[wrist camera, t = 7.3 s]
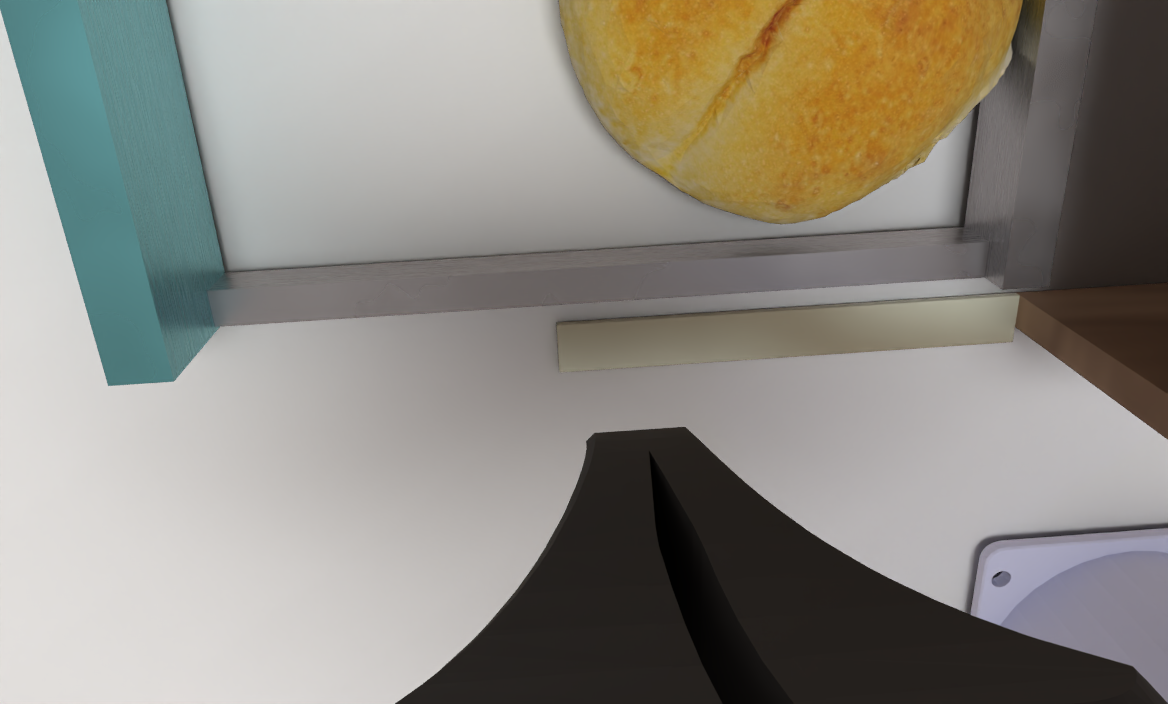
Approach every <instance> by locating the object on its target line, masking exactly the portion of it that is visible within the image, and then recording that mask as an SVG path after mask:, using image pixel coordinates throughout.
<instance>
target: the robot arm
mask: <svg viewBox="0 0 1168 704" xmlns="http://www.w3.org/2000/svg"><path fill="white" fill-rule="evenodd" d="M586 443H587V450H586V456H585V461H584V464H583V468H582V471H581V474H580V477H579V480H578V483H577V485H576V487H575V490H574V492H573V494H572V497H571V499H570V501H569V504H568V506H567V508H566V510H565V513H564V515H563V517H562V519H561V520H560V522H559V524H558V526H557V528H556V529H555V531H554V533H553V535H552V537H551V538H550V540H549V542H548V544H547V546H546V548H545V549H544V551H543V552H542V554H541V556H540V557H539V559H538V560H537V562H536V563H535V565H534V566H533V568H532V569H531V571H530V572H529V574H528V575H527V576H526V578H525V579H524V581H523V582H522V583H521V585H520V586H519V587H518V589H517V590H516V591H515V593H514V594H513V595H512V596H511V598H510V599H509V600H508V601H507V602H506V604H505V605H504V606H503V607H502V608H501V609H500V611H499V612H498V613H497V614H496V615H495V617H494V618H493V619H492V620H491V621H490V622H489V624H488V625H487V626H486V627H485V628H484V629H483V630H482V631H481V632H480V633H479V634H478V635H477V636H476V637H475V638H474V639H473V640H472V641H471V642H470V643H469V644H468V645H467V646H466V647H465V648H464V649H463V650H462V651H460V652H459V653H458V654H457V655H456V656H455V657H454V658H453V659H452V660H451V661H450V662H448V663H447V664H446V665H445V666H444V667H443V668H442V669H441V670H440V671H439V672H437V673H436V674H435V675H434V676H432V677H431V678H430V679H429V680H427V681H426V682H425V683H424V684H422V685H421V686H420V687H418V688H417V689H415V690H414V691H412V692H411V693H410V694H408V695H407V696H405V697H404V698H402V699H401V700H400V701H398V702H397V703H395V704H1168V528H1161V529H1147V530H1134V531H1121V532H1108V533H1094V534H1081V535H1068V536H1055V537H1042V538H1028V539H1015V540H1002V541H997V542H993V543H991V544H989V545H988V546H986V547H985V548H984V549H983V551H982V552H981V555H980V557H979V563H978V569H977V576H976V582H975V588H974V594H973V601H972V607H971V613H970V614H967V613H965V612H962V611H960V610H958V609H955V608H953V607H950V606H948V605H945V604H943V603H941V602H938V601H936V600H934V599H932V598H929V597H927V596H925V595H923V594H921V593H919V592H917V591H915V590H912V589H910V588H908V587H906V586H904V585H902V584H900V583H898V582H895V581H893V580H891V579H889V578H887V577H885V576H884V575H882V574H880V573H878V572H876V571H874V570H872V569H870V568H868V567H866V566H865V565H863V564H861V563H860V562H858V561H856V560H854V559H853V558H851V557H849V556H848V555H846V554H844V553H843V552H841V551H839V550H837V549H836V548H834V547H832V546H831V545H829V544H827V543H826V542H824V541H823V540H821V539H820V538H818V537H817V536H815V535H813V534H812V533H810V532H809V531H807V530H806V529H805V528H803V527H802V526H801V525H799V524H798V523H796V522H795V521H794V520H792V519H791V518H789V517H788V516H787V515H785V514H784V513H783V512H781V511H780V510H778V509H777V508H776V507H775V506H773V505H772V504H771V503H769V502H768V501H767V500H766V499H764V498H763V497H762V496H761V495H759V494H758V493H757V492H756V491H755V490H753V489H752V488H751V487H750V486H749V485H747V484H746V483H745V482H744V481H743V480H742V479H741V478H739V477H738V476H737V475H736V474H735V473H734V472H733V471H732V470H731V469H729V468H728V467H727V466H726V465H725V464H724V463H723V462H722V461H721V460H720V459H719V458H718V457H717V456H715V455H714V454H713V453H712V452H711V451H710V450H709V449H708V448H707V447H706V446H705V445H704V444H703V443H702V442H701V441H700V440H699V439H698V438H697V437H695V436H694V435H693V434H692V433H691V432H690V431H689V430H688V429H687V428H686V427H677V428H662V429H648V430H633V431H618V432H603V433H594V434H593V435H592V436H591V437H590V438H589V439H588V440H587V441H586ZM1001 571H1003V572H1002V574H1000V575H999V576H998V577H995V578H993V576H994V575H995V574H996V573H998V572H1001Z"/></svg>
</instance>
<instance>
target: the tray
mask: <svg viewBox="0 0 1168 704" xmlns="http://www.w3.org/2000/svg"><path fill="white" fill-rule="evenodd" d="M556 326H557V342H558V358H559V372H574V371H589V370H604V369H619V368H633V367H648V366H663V365H678V364H693V363H708V362H723V361H738V360H753V359H767V358H782V357H797V356H812V355H827V354H842V353H857V352H872V351H887V350H901V349H916V348H931V347H946V346H961V345H976V344H991V343H1006V342H1013V336H1014V329H1015V327H1016V328H1017V329H1019V330H1020V331H1021V332H1023V333H1024V334H1025V335H1027V336H1028V337H1030V338H1031V339H1032V340H1034V341H1035V342H1036V343H1038V344H1039V345H1040V346H1042V347H1043V348H1044V349H1046V350H1047V351H1048V352H1050V353H1051V354H1053V355H1054V356H1055V357H1057V358H1058V359H1059V360H1061V361H1062V362H1063V363H1065V364H1066V365H1067V366H1069V367H1070V368H1072V369H1073V370H1074V371H1076V372H1077V373H1078V374H1080V375H1081V376H1082V377H1084V378H1085V379H1086V380H1088V381H1089V382H1090V383H1092V384H1093V385H1095V386H1096V387H1097V388H1099V389H1100V390H1101V391H1103V392H1104V393H1105V394H1107V395H1108V396H1109V397H1111V398H1112V399H1114V400H1115V401H1116V402H1118V403H1119V404H1120V405H1122V406H1123V407H1124V408H1126V409H1127V410H1128V411H1130V412H1131V413H1132V414H1134V415H1135V416H1137V417H1138V418H1139V419H1141V420H1142V421H1143V422H1145V423H1146V424H1147V425H1149V426H1150V427H1151V428H1153V429H1154V430H1156V431H1157V432H1158V433H1160V434H1161V435H1162V436H1164V437H1165V438H1166V439H1168V283H1156V284H1140V285H1125V286H1110V287H1094V288H1079V289H1064V290H1048V291H1033V292H1017V293H1002V294H987V295H971V296H956V297H941V298H925V299H910V300H895V301H879V302H864V303H848V304H833V305H818V306H802V307H787V308H772V309H756V310H741V311H725V312H710V313H695V314H679V315H664V316H649V317H633V318H618V319H603V320H587V321H572V322H556Z"/></svg>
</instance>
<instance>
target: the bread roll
mask: <svg viewBox="0 0 1168 704" xmlns="http://www.w3.org/2000/svg"><path fill="white" fill-rule="evenodd" d="M1022 2H1023V0H559V3H558V4H559V7H560V18H561V26H562V28H563V31H564V34H565V39H566V43H567V47H568V51H569V55H570V59H571V63H572V66H573V68H574V71H575V73H576V76H577V78H578V81H579V83H580V85H581V86H582V88H583V90H584V94H585V97H586V98H587V100H588V102H589V104H590V105H591V107H592V109H593V110H594V112H595V113H596V115H597V117H598V118H599V120H600V122H601V123H602V125H603V127H604V128H605V129H606V130H607V131H608V132H609V134H610V135H611V136H612V137H613V138H614V139H615V140H616V142H617V143H618V144H619V145H620V146H621V147H622V148H623V149H624V150H625V151H626V152H627V153H628V154H629V155H631V156H632V157H633V158H634V159H635V160H637V161H638V162H639V163H641V164H642V165H644V166H645V167H647V168H648V169H650V170H652V171H653V172H655V173H657V174H658V175H660V176H661V177H663V178H664V179H666V180H667V181H668V182H670V183H671V184H672V185H674V186H675V187H676V188H678V189H679V190H681V191H682V192H684V193H687V194H689V195H690V196H692V197H694V198H695V199H697V200H699V201H701V202H702V203H704V204H707V205H710V206H713V207H715V208H718V209H721V210H724V211H727V212H730V213H734V214H737V215H741V216H744V217H747V218H751V219H755V220H760V221H764V222H768V223H776V224H790V223H798V222H803V221H808V220H812V219H817V218H821V217H825V216H827V215H828V214H830V213H832V212H835V211H838V210H840V209H842V208H844V207H845V206H847V205H849V204H851V203H853V202H855V201H858V200H860V199H862V198H863V197H865V196H866V195H868V194H869V193H871V192H873V191H874V190H876V189H878V188H879V187H881V186H883V185H884V184H887V183H889V182H890V181H891V180H893V179H897V178H898V177H899V176H900V175H902V174H904V173H905V172H906V171H907V170H908V169H909V168H912V167H914V166H916V165H918V164H920V163H922V162H924V161H925V160H926V158H927V157H928V155H929V153H930V152H931V150H932V149H933V147H934V146H935V144H937V142H938V141H939V140H941V139H944V138H946V137H947V136H948V135H949V134H950V132H951V131H952V130H953V129H954V128H955V127H956V126H957V125H958V124H959V123H960V122H961V121H962V120H963V119H964V118H965V117H966V116H967V115H968V113H969V112H970V111H971V110H972V109H973V108H974V107H975V106H976V105H977V104H978V103H979V102H980V101H981V100H982V99H983V98H984V97H985V96H986V95H987V94H988V93H989V92H990V91H991V90H992V89H993V88H994V86H995V85H996V84H997V83H998V80H999V78H1000V77H1001V76H1002V75H1003V74H1004V72H1005V70H1006V68H1007V67H1008V65H1009V63H1010V61H1011V59H1012V53H1013V52H1012V47H1011V41H1012V38H1013V35H1014V33H1015V30H1016V27H1017V24H1018V20H1019V16H1020V12H1021V7H1022Z"/></svg>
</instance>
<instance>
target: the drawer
mask: <svg viewBox="0 0 1168 704" xmlns="http://www.w3.org/2000/svg"><path fill="white" fill-rule="evenodd" d="M1097 3H1098V0H1023V2H1022V7H1021V12H1020V16H1019V20H1018V24H1017V27H1016V30H1015V33H1014V35H1013V38H1012V41H1011V47H1012V52H1013V53H1012V59H1011V61H1010V63H1009V65H1008V67H1007V68H1006V70H1005V72H1004V74H1003V75H1002V76H1001V77H1000V78H999V80H998V83H997V84H996V85H995V86H994V88H993V89H992V90H991V91H990V92H989V93H988V94H987V95H986V96H985V97H984V98H983V99H982V100H981V101H980V108H979V116H978V124H977V131H976V139H975V147H974V155H973V163H972V171H971V178H970V186H969V194H968V202H967V210H966V217H965V225H964V227H956V228H940V229H923V230H907V231H891V232H875V233H859V234H843V235H827V236H811V237H795V238H779V239H762V240H746V241H730V242H714V243H698V244H682V245H666V246H650V247H634V248H618V249H601V250H585V251H569V252H553V253H537V254H521V255H505V256H489V257H473V258H457V259H440V260H424V261H408V262H392V263H376V264H360V265H344V266H328V267H312V268H296V269H279V270H263V271H247V272H231V273H225V271H224V267H223V262H222V257H221V253H220V248H219V243H218V239H217V234H216V230H215V225H214V220H213V216H212V211H211V207H210V202H209V197H208V193H207V188H206V184H205V179H204V174H203V170H202V165H201V160H200V156H199V151H198V147H197V142H196V137H195V133H194V128H193V124H192V119H191V114H190V110H189V105H188V101H187V96H186V91H185V87H184V82H183V78H182V73H181V68H180V64H179V59H178V54H177V50H176V45H175V41H174V36H173V31H172V27H171V22H170V18H169V13H168V8H167V4H166V0H0V10H1V13H2V17H3V20H4V24H5V27H6V31H7V34H8V38H9V41H10V45H11V48H12V52H13V55H14V59H15V62H16V66H17V69H18V73H19V76H20V80H21V83H22V86H23V90H24V93H25V97H26V100H27V104H28V107H29V111H30V114H31V118H32V121H33V125H34V128H35V132H36V135H37V139H38V142H39V146H40V149H41V153H42V156H43V160H44V163H45V167H46V170H47V174H48V177H49V181H50V184H51V188H52V191H53V195H54V198H55V202H56V205H57V208H58V212H59V215H60V219H61V222H62V226H63V229H64V233H65V236H66V240H67V243H68V247H69V250H70V254H71V257H72V261H73V264H74V268H75V271H76V275H77V278H78V282H79V285H80V289H81V292H82V296H83V299H84V303H85V306H86V310H87V313H88V317H89V320H90V324H91V327H92V330H93V334H94V337H95V341H96V344H97V348H98V351H99V355H100V358H101V362H102V365H103V369H104V372H105V376H106V379H107V383H108V386H113V385H128V384H143V383H158V382H173V381H175V380H176V378H177V377H178V376H179V375H180V374H181V372H182V371H183V370H184V369H185V368H186V366H187V365H188V364H189V363H190V362H191V361H192V359H193V358H194V357H195V356H196V355H197V353H198V352H199V351H200V350H201V349H202V347H203V346H204V345H205V344H206V343H207V342H208V340H209V339H210V338H211V337H212V336H213V334H214V333H215V332H216V331H217V330H218V328H219V327H220V326H235V325H250V324H266V323H281V322H297V321H312V320H328V319H344V318H359V317H375V316H390V315H406V314H421V313H437V312H452V311H468V310H484V309H499V308H515V307H530V306H546V305H561V304H577V303H592V302H608V301H623V300H639V299H655V298H670V297H686V296H701V295H717V294H732V293H748V292H763V291H779V290H794V289H810V288H826V287H841V286H857V285H872V284H888V283H903V282H919V281H934V280H950V279H965V278H981V277H985V278H986V279H988V280H989V281H991V282H992V283H994V284H995V285H997V286H998V287H1000V288H1001V289H1017V288H1032V287H1048V286H1049V283H1050V277H1051V271H1052V265H1053V259H1054V254H1055V248H1056V242H1057V236H1058V230H1059V224H1060V219H1061V213H1062V207H1063V201H1064V195H1065V190H1066V184H1067V178H1068V172H1069V166H1070V160H1071V155H1072V149H1073V143H1074V137H1075V131H1076V125H1077V120H1078V114H1079V108H1080V102H1081V96H1082V90H1083V85H1084V79H1085V73H1086V67H1087V61H1088V55H1089V50H1090V44H1091V38H1092V32H1093V26H1094V21H1095V15H1096V9H1097Z"/></svg>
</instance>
